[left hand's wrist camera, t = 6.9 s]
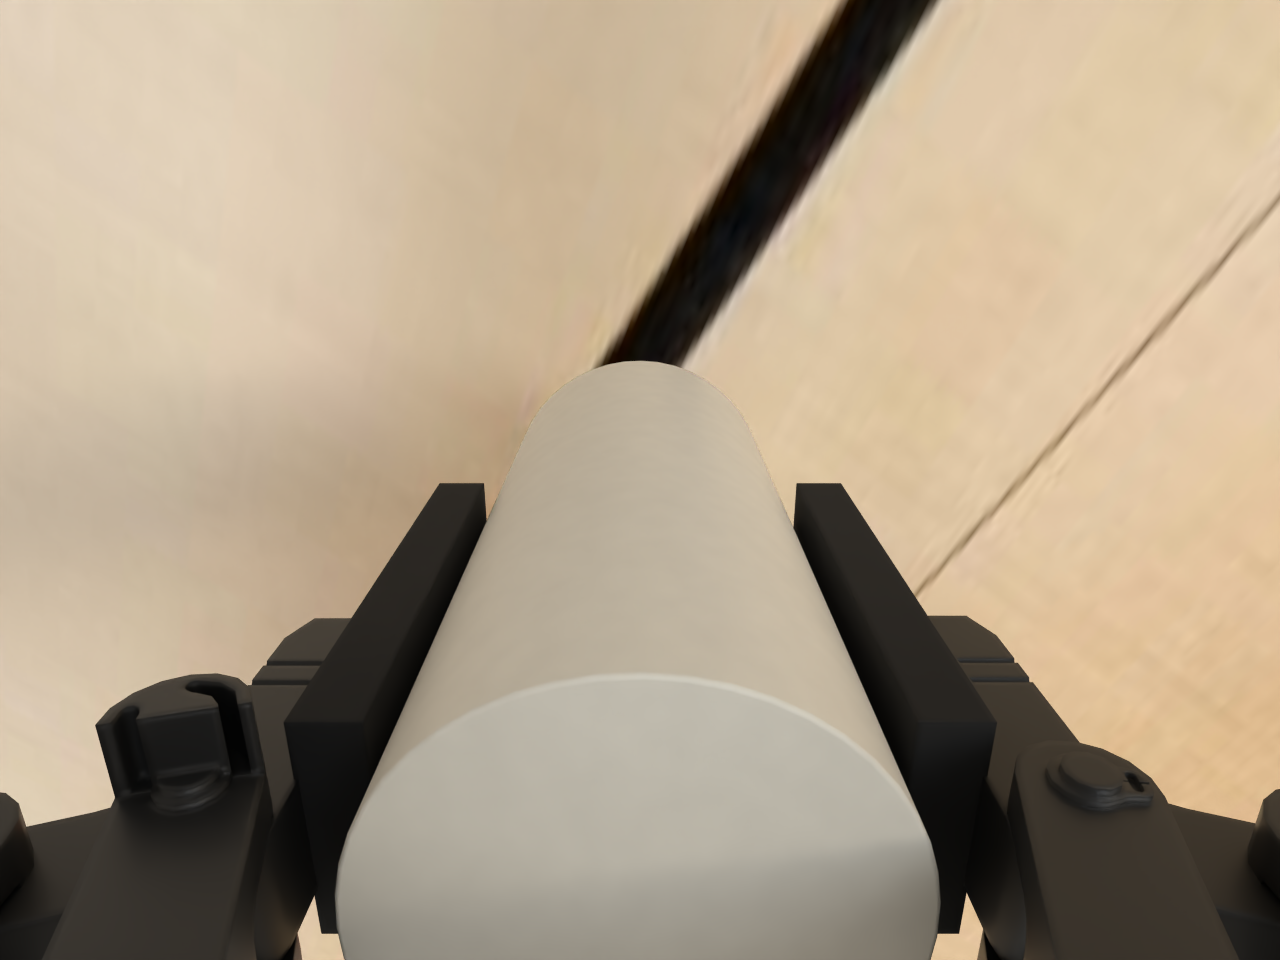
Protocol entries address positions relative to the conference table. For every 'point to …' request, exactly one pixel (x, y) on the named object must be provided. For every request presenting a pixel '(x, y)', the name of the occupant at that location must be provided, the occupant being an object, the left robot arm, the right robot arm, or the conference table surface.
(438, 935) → the cylinder
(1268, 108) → the conference table surface
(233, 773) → the left robot arm
